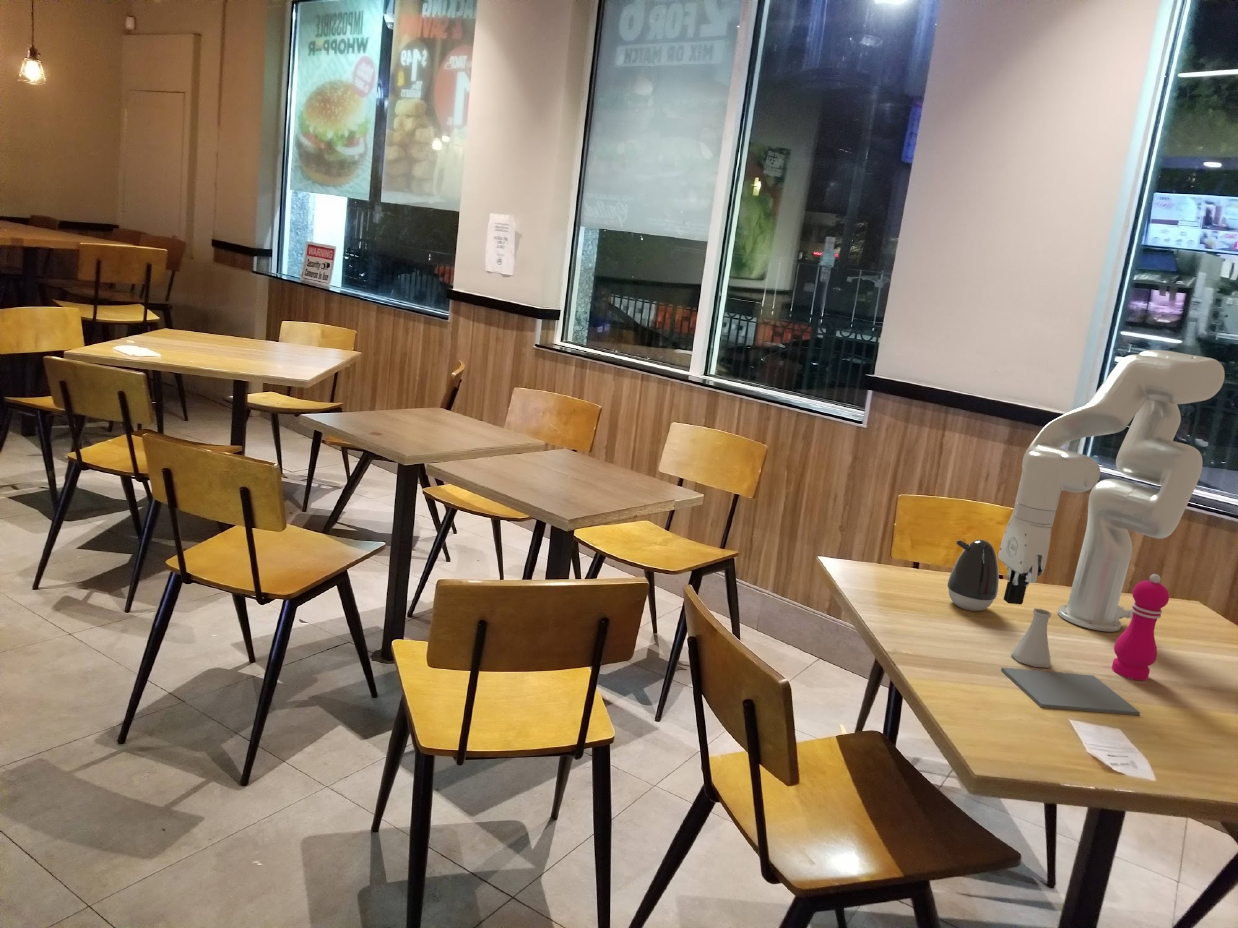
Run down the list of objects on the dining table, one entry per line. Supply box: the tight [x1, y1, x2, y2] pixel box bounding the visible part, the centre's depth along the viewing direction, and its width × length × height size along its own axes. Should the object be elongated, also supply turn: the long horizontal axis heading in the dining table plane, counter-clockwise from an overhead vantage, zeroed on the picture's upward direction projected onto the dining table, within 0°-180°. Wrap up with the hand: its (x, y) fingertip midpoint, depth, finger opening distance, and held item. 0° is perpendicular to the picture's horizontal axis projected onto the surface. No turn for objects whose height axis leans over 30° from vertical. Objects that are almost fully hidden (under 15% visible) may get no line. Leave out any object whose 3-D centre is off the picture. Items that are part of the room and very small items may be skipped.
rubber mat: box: [1000, 666, 1141, 716], centre depth 169 cm, size 18×14×1 cm
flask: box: [1010, 608, 1052, 669], centre depth 180 cm, size 7×7×10 cm
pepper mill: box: [1111, 573, 1170, 681], centre depth 179 cm, size 7×7×20 cm
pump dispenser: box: [947, 539, 1000, 612], centre depth 206 cm, size 10×10×15 cm
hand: (1012, 602), depth 190 cm, fingers closed
